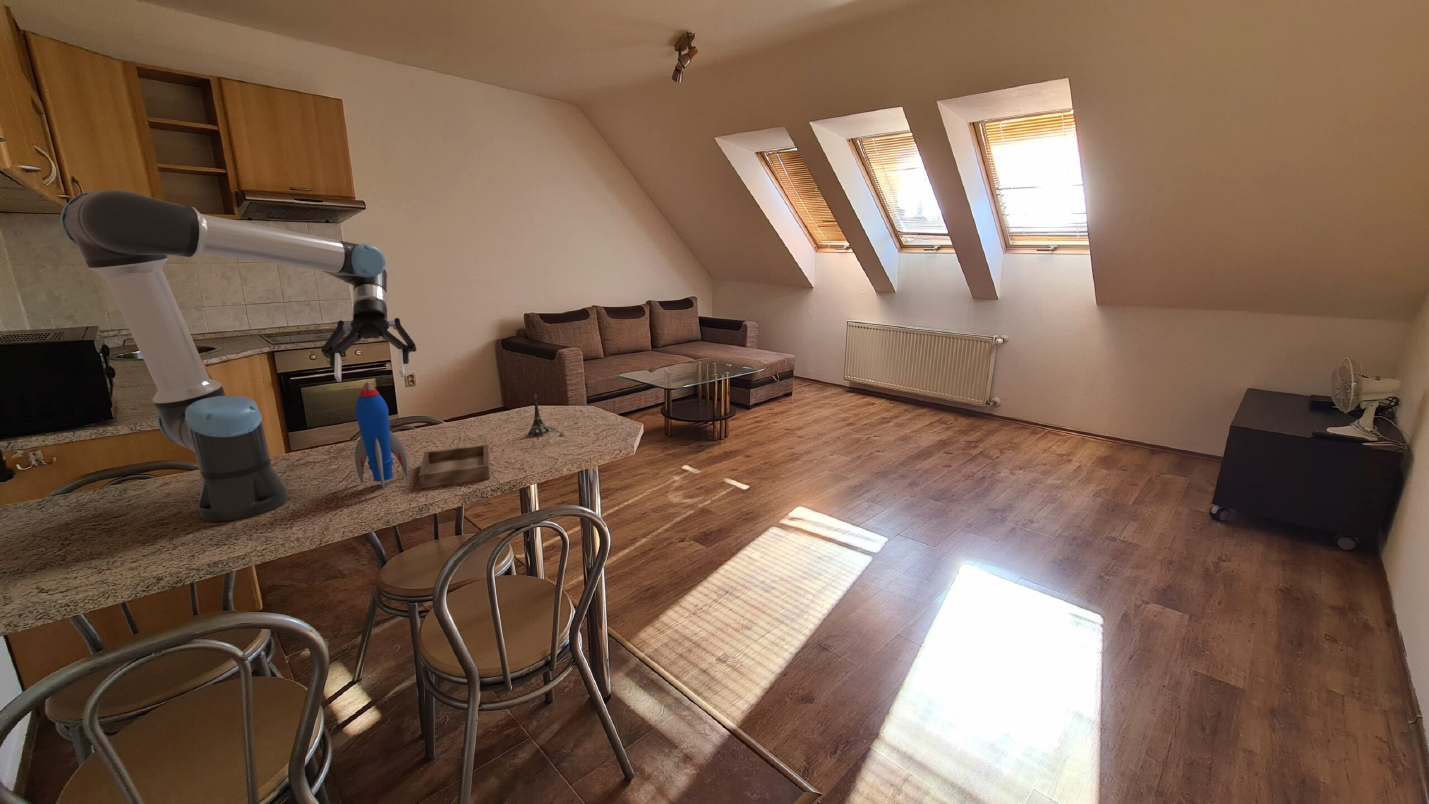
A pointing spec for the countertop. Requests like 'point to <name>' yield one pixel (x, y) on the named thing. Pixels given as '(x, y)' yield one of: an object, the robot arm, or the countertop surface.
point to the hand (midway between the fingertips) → (370, 376)
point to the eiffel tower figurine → (540, 425)
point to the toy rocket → (376, 437)
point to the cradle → (454, 466)
